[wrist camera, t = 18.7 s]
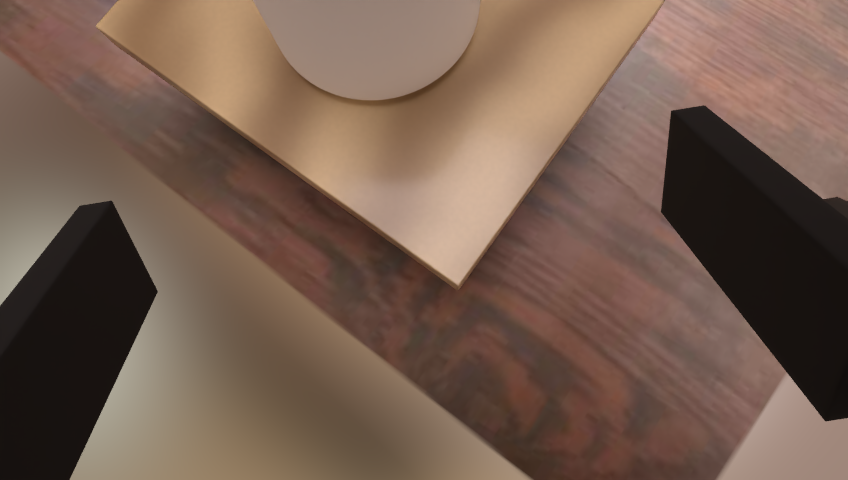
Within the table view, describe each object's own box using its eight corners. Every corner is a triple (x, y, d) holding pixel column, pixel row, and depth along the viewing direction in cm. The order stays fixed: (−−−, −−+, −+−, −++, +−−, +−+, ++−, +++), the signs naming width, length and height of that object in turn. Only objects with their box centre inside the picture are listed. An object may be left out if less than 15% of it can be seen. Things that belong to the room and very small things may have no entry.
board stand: (605, 98, 33) (667, -4, 23) (455, 307, 31) (458, 286, 21) (345, -67, 35) (307, -218, 26) (193, 117, 33) (94, 25, 24)
